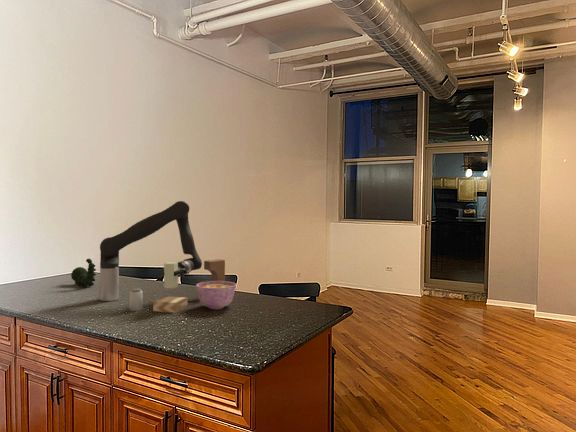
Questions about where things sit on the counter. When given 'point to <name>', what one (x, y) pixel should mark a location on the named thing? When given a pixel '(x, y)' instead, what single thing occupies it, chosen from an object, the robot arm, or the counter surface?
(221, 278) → the decorative block
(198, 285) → the bowl of food
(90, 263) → the toy figurine
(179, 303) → the maple block
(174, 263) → the sage block
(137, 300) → the ceramic jar
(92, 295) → the counter surface
